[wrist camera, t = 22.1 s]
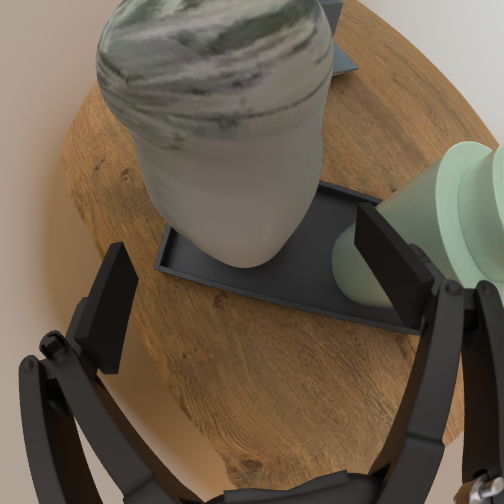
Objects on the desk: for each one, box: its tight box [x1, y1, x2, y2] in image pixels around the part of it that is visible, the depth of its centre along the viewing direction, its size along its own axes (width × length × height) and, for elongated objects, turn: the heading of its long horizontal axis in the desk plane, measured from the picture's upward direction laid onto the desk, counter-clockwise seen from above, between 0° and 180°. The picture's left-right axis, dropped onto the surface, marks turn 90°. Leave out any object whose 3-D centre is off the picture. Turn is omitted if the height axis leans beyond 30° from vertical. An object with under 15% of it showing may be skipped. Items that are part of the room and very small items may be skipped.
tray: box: [154, 180, 425, 336], centre depth 31 cm, size 31×14×3 cm, turn 75°
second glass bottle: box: [331, 142, 504, 308], centre depth 18 cm, size 10×10×28 cm
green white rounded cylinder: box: [96, 0, 334, 268], centre depth 18 cm, size 10×10×28 cm
